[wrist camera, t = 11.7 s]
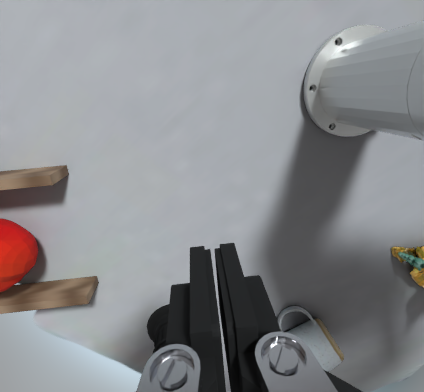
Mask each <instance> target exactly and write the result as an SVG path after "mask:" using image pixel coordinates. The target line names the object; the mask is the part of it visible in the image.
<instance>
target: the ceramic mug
mask: <svg viewBox="0 0 424 392" xmlns="http://www.w3.org/2000/svg"><path fill="white" fill-rule="evenodd" d="M296 311H298V312H302V313H304V314H306V315H307V316H308V317H309V319H310V320H309V321H307V322H305V323H303V324H302V325H300V326H298V327H296V328H293V329H291V330H289V331H287V333H290V334H293V335H295V336H297V337H298V338H300V339H301V340H303V341H304V342H305V343H306V345H307V346H308V347H309V348H310V350H311V351H312V353H313V354H314V356H315V357H316V359H317V360H318V362H319V363H320V365H321V367H322V368H323V369H324V370H325V371H327V372H328V371H330V370H332V369H333V368H335V367H336V366H338V365H339V364H340V363H341V362H342V361H343V360H344V355H343V353H342V352H341V350H340V348H339V347H338V345H337V344H336V342H335V341H334V339H333V338H332V336H331V335H330V333H329V331H328V330H327V328H326V327H325V325H324V324H323V322H322V321H321V320H320V319H317V318H316V319H313V318H312V316H311V315H310V314H309V313H308V312H307V311H306V310H305V309H303V308H302V307H299V306H290V307H287V308H285V309H284V310H282V311H281V313H280V314H279V317H278V324H279V326H280V329H281V323H282V319H283V317H284V315H285V314H287V313H289V312H296ZM281 332H282V330H281Z"/></svg>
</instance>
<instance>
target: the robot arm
mask: <svg viewBox="0 0 424 392" xmlns="http://www.w3.org/2000/svg"><path fill="white" fill-rule="evenodd" d="M335 41H336V42H337V43H336V45H335ZM310 86H311V87H312V89H311V90H309V88H310ZM304 102H305V105H306V108H307V111H308V113H309V115H310V117H311V119H312V120H313V121H314V122H315V124H316V125H317V126H318V127H320V128H321V129H322V130H324V131H326V132H328V133H330V134H333V135H337V136H343V137H352V136H358V135H362V134H365V133H367V132H369V131H371V130H375V131H380V132H385V133H390V134H395V135H399V136H404V137H409V138H414V139H419V140H424V20H422V21H419V22H415V23H412V24H409V25H406V26H403V27H399V28H396V29H393V30H390V31H387V30H385V29H384V28H381V27H378V26H374V25H359V26H354V27H350V28H348V29H345V30H343V31H341V32H339V33H337V34H335V35H334V36H332V37H331V38H330V39H329V40H327V41H326V42H325V43H324V44H323V45H322V46H321V47H320V49H319V50H318V51H317V52H316V54H315V55H314V57H313V59H312V60H311V62H310V65H309V67H308V69H307V73H306V77H305V80H304ZM329 125H331V126H330V127H329ZM215 260H216V271H217V283H218V294H219V306H220V314H221V322H222V329H223V337H224V344H225V351H226V359H227V366H228V373H229V381H230V388H231V392H362V391H360V390H359V389H357V388H355V387H353V386H352V385H350V384H348V383H346V382H345V381H343V380H341V379H339V378H338V377H336V376H334V375H332V374H331V373H329V372H327V371H325V370H324V369H323V368H322V367H321V365H320V363H319V362H318V360H317V359H316V357H315V356H314V354H313V353H312V351H311V350H310V348H309V347H308V346H307V345H306V343H305V342H304V341H303V340H301V339H300V338H298V337H297V336H295V335H293V334H290V333H287V332H281V329H280V326H279V324H278V321H277V319H276V316H275V313H274V311H273V308H272V306H271V303H270V300H269V298H268V295H267V292H266V290H265V287H264V285H263V282H262V279H261V277H260V276H259V275H257V276H248V277H244V275H243V272H242V268H241V265H240V262H239V258H238V255H237V251H236V248H235V244H234V243H228V244H220V248H217V249H215ZM136 392H226V388H225V376H224V365H223V354H222V343H221V332H220V323H219V315H218V307H217V299H216V291H215V284H214V276H213V268H212V260H211V252H210V249H208V250H205V249H204V246H200V247H191V248H190V283H186V284H177V285H172V286H171V295H170V305H169V315H168V325H167V335H166V346H165V347H163V348H161V349H159V350H158V351H156V352H155V353H154V354H153V355H152V356H151V357H150V358H149V359H148V361H147V363H146V365H145V367H144V370H143V373H142V376H141V379H140V382H139V385H138V388H137V391H136Z"/></svg>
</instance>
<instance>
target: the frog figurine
mask: <svg viewBox="0 0 424 392" xmlns="http://www.w3.org/2000/svg"><path fill="white" fill-rule="evenodd" d="M391 250H392V255H393V257H397V258H398V259H399V261H400V262H402V261H407V262H409V263H410V265H412V264H413V265H412V266H414V269H413V271H411V272H410V274H411V275H412V279H413V280H414V281H415V282H416V283H417V284H418V285H419V286H422V287H423V288H424V246H423V247H421V248H420V247H417V248H416V255H417V256H418V258H417V257H416V255H415V254H414V252H415V250H414V247H413V248H412V249H410V248H409V249H407V248H406V249H405V248H403V247H392V248H391Z"/></svg>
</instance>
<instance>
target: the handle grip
mask: <svg viewBox="0 0 424 392" xmlns="http://www.w3.org/2000/svg"><path fill="white" fill-rule="evenodd" d="M169 305H170V304H169ZM169 305H166V306H163V307H161V308H159V309H158V310H156V311H155V312H154V313H153V314H152V315H151V317H150V318H149V320H148V324H147V330H148V334H149V336H150V339H151V340H152V341H153V342H154V347H155V349H154V351H153V354H154V353H155V352H156V351H158V350H159V349H161V348H163V347H165V346H166V335H167V325H168V315H169Z"/></svg>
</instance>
